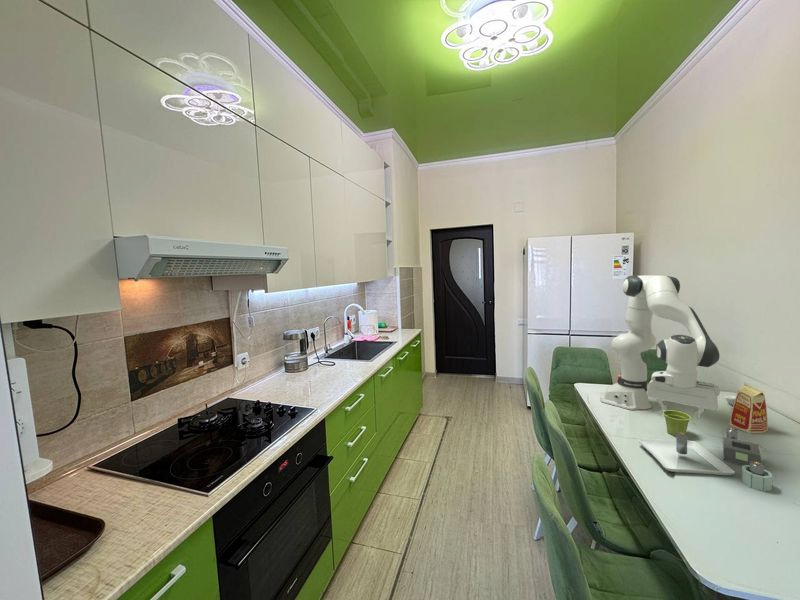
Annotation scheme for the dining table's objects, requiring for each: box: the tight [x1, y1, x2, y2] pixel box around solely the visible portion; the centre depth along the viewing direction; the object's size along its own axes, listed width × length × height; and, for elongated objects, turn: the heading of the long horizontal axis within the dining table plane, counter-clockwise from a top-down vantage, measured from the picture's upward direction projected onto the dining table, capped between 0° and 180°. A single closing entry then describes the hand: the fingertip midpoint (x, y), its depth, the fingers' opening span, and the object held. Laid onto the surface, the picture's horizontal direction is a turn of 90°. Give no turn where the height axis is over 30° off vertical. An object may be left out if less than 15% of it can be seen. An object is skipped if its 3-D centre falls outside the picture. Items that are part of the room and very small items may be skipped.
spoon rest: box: [724, 395, 736, 406], centre depth 158 cm, size 24×12×7 cm, turn 139°
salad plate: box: [637, 438, 736, 476], centre depth 123 cm, size 21×21×3 cm
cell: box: [675, 432, 688, 455], centre depth 123 cm, size 3×3×8 cm
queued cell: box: [725, 427, 739, 440], centre depth 129 cm, size 3×3×8 cm
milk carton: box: [728, 382, 769, 434], centre depth 141 cm, size 9×9×20 cm
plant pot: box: [662, 409, 692, 437], centre depth 141 cm, size 9×9×9 cm
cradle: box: [722, 436, 762, 466], centre depth 120 cm, size 9×10×6 cm
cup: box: [741, 465, 773, 492], centre depth 107 cm, size 7×7×5 cm
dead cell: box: [750, 461, 765, 476], centre depth 107 cm, size 3×3×8 cm
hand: (680, 413), depth 123 cm, fingers open, 8 cm apart
